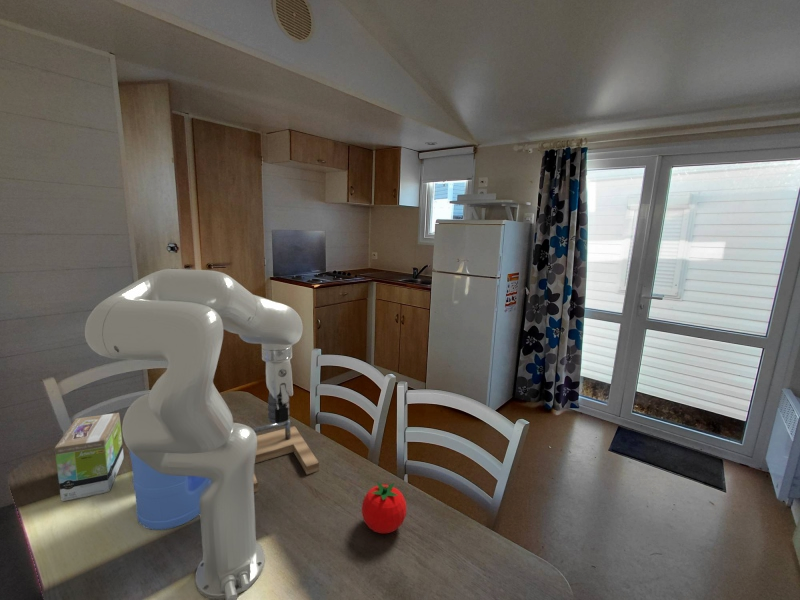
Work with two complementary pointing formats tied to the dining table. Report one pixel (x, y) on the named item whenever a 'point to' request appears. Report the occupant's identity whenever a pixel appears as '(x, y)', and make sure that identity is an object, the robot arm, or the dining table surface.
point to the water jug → (165, 496)
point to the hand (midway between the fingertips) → (278, 415)
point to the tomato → (384, 508)
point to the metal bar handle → (271, 426)
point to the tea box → (89, 456)
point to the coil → (272, 408)
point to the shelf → (285, 450)
